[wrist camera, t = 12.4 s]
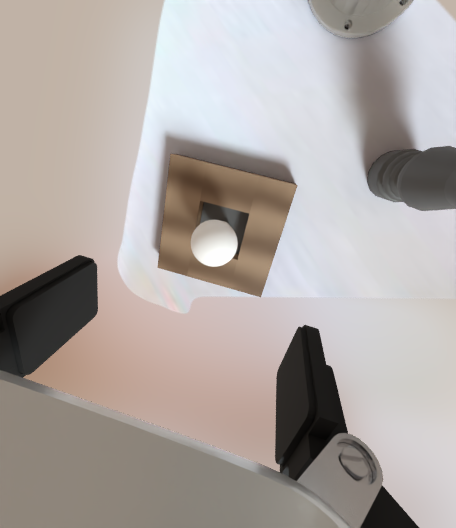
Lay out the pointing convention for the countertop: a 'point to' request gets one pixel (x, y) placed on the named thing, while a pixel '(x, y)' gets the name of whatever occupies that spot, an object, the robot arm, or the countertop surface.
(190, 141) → the countertop surface
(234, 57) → the countertop surface
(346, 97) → the countertop surface
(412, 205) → the candle holder
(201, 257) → the lightbulb
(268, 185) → the socket block
